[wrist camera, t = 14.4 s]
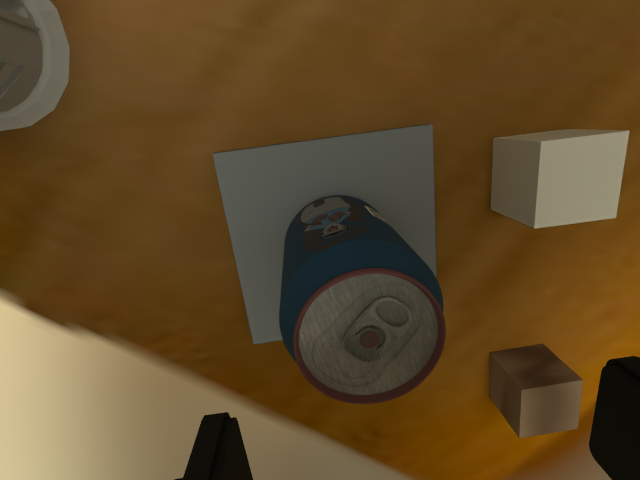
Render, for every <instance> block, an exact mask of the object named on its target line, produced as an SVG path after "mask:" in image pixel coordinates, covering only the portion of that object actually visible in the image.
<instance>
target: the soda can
mask: <svg viewBox="0 0 640 480" xmlns="http://www.w3.org/2000/svg"><path fill="white" fill-rule="evenodd" d="M279 326H280V332H281V336H282V339H283V342H284V344H285V346H286V348H287V350H288V352H289V353H290V355H291V356H292V357H293V359H294V360H295V361H296V362H297V364H298V366H299V368H300V370H301V372H302V374H303V375H304V377H305V378H306V379H307V380H308V381H309V382H310V384H311V385H313V386H314V387H315V388H316V389H317V390H319V391H320V392H322V393H323V394H325V395H327V396H329V397H331V398H333V399H336V400H339V401H343V402H347V403H354V404H372V403H379V402H384V401H388V400H391V399H394V398H397V397H400V396H402V395H404V394H406V393H408V392H409V391H411V390H413V389H414V388H415V387H417V386H418V385H419V384H420V383H421V382H422V381H423V380H424V379H425V378H426V377H427V376H428V375H429V374H430V372H431V371H432V370H433V368H434V367H435V365H436V364H437V362H438V360H439V358H440V356H441V353H442V351H443V347H444V343H445V335H446V328H445V320H444V316H443V298H442V293H441V289H440V286H439V283H438V281H437V279H436V277H435V275H434V273H433V272H432V270H431V269H430V268H429V266H428V265H427V264H426V263H425V262H424V261H423V260H422V259H421V257H420V256H419V255H418V254H417V253H416V252H415V251H414V250H413V249H412V248H411V247H410V246H409V245H408V244H407V242H406V241H405V240H404V239H403V238H402V237H401V236H400V235H399V234H398V233H397V232H396V231H395V230H394V229H393V228H392V226H391V225H390V224H389V223H388V222H387V221H386V220H385V219H384V218H383V217H382V216H381V215H380V214H379V213H378V211H377V210H376V209H375V208H373V207H372V206H371V205H369V204H368V203H366V202H365V201H363V200H360V199H358V198H355V197H351V196H345V195H333V196H327V197H323V198H320V199H318V200H315V201H313V202H311V203H310V204H308V205H307V206H305V207H304V208H303V209H302V210H301V211H300V212H299V213H298V214H297V215H296V216H295V217H294V219H293V220H292V222H291V223H290V225H289V227H288V230H287V233H286V237H285V242H284V255H283V269H282V282H281V295H280V309H279Z"/></svg>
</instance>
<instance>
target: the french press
mask: <svg viewBox="0 0 640 480" xmlns="http://www.w3.org/2000/svg"><path fill="white" fill-rule="evenodd" d="M69 59H70V47H69V44H68V40H67V37H66V34H65V31H64V28H63V25H62V22H61V19H60V16H59V13H58V10H57V9H56V8H55V6H54V5H53V4H52V2H51V1H50V0H0V131H4V130H11V129H17V128H24V127H30V126H32V125H33V124H35V123H36V122H37V121H39V120H40V119H42V118H43V117H45V116H46V115H48V114H49V113H50V112H52V111H53V110H55V108H56V106H57V104H58V102H59V100H60V98H61V96H62V94H63V92H64V90H65V88H66V86H67V84H68V82H69Z"/></svg>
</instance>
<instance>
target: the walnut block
mask: <svg viewBox="0 0 640 480" xmlns="http://www.w3.org/2000/svg"><path fill="white" fill-rule="evenodd" d="M582 385H583V379H581V378H580V377H579V376H578V375H577V374H576V373H575V372H574V371H572V370H571V369H570V368H569V367H568V366H567V365H566V364H565V363H563V362H562V361H561V360H560V359H559V358H558V357H557V356H556V355H554V354H553V353H552V352H551V351H550V350H549V349H548V348H547V347H545V346H544V345H543V344H538V345H532V346H526V347H520V348H514V349H508V350H502V351H496V352H490V365H489V396H490V398H491V399H492V401H493V402H494V403H495V405H496V406H497V408H498V409H499V410H500V412H501V413H502V415H503V416H504V417H505V419H506V420H507V422H508V423H509V424H510V426H511V427H512V429H513V430H514V431H515V433H516V434H517V436H518V437H519V438H524V437H530V436H536V435H542V434H548V433H554V432H560V431H566V430H571V429H577V428H578V420H579V411H580V403H581V394H582Z"/></svg>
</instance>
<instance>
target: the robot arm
mask: <svg viewBox="0 0 640 480" xmlns="http://www.w3.org/2000/svg"><path fill="white" fill-rule="evenodd" d="M589 447H590V451H591V453H592V456H593V457H594V459H595V460H596V461H597V463H598V464H599V465H600V466H601V467H602V469H603V470H604V471H605V472H606V473H607V474H608V476H609V477H610V478H611V479H612V480H640V358H639V357H636V356H631V357H624V358H617V359H610V360H609V361H608V362H607V364H606V366H605V367H603V369H602V372H601V377H600V383H599V389H598V395H597V401H596V407H595V412H594V418H593V424H592V430H591V436H590V442H589ZM175 480H253V478H252V474H251V470H250V467H249V463H248V459H247V455H246V451H245V447H244V444H243V440H242V436H241V432H240V428H239V425H238V421H237V418H230V416H229V414H228V413H219V414H211V415H205V416H204V417H203V419H202V421H201V424H200V427H199V431H198V434H197V437H196V440H195V443H194V446H193V449H192V452H191V455H190V458H189V461H188V465H187V468H186V471H185V474H184V477H183V478H180V479H175Z"/></svg>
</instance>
